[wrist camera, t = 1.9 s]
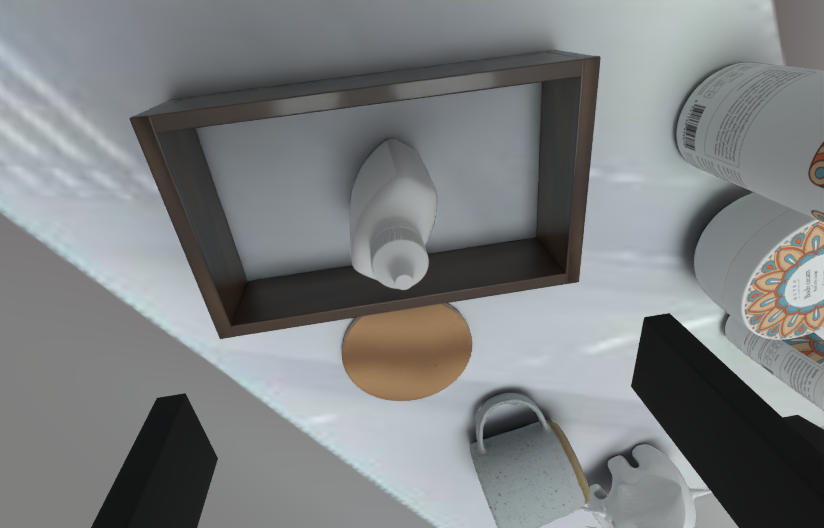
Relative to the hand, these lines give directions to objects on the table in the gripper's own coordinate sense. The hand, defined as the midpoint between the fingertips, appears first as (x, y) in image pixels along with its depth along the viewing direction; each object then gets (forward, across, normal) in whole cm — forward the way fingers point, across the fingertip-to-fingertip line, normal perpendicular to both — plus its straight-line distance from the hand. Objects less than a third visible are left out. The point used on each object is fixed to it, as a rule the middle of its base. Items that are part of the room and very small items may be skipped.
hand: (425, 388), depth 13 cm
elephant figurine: (+18, +20, -34) cm, 43 cm away
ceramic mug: (+17, +8, -24) cm, 31 cm away
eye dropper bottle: (+17, 0, 0) cm, 17 cm away
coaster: (+17, 0, -13) cm, 22 cm away
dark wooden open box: (+17, 0, 0) cm, 17 cm away
